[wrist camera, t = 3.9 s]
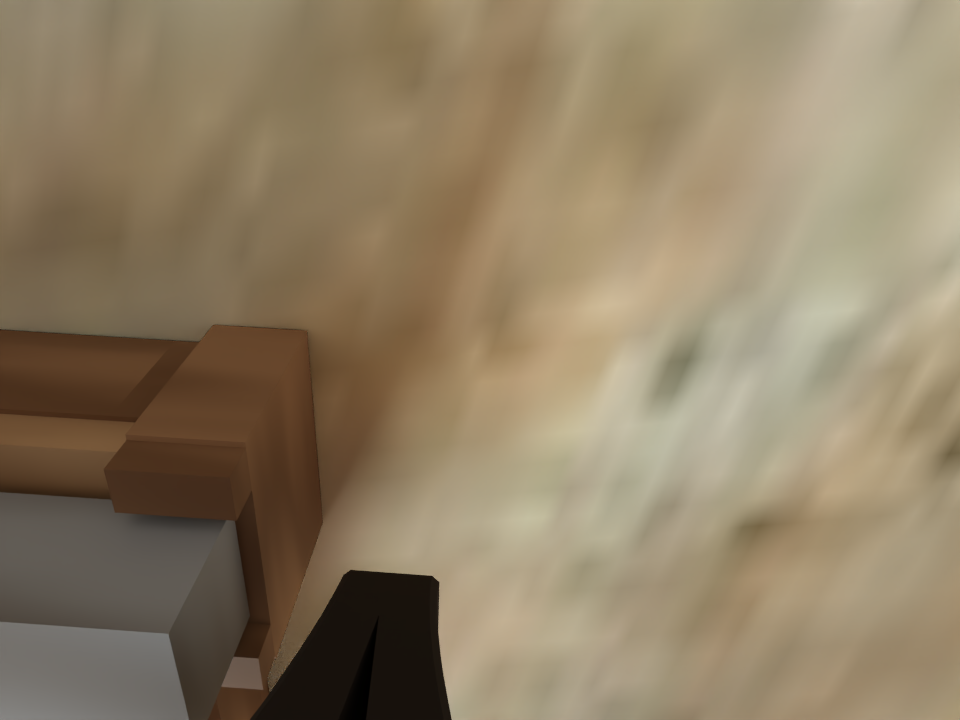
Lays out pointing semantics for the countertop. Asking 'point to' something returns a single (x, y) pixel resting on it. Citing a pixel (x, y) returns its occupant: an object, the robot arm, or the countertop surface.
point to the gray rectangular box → (114, 611)
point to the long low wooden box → (199, 452)
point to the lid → (58, 455)
